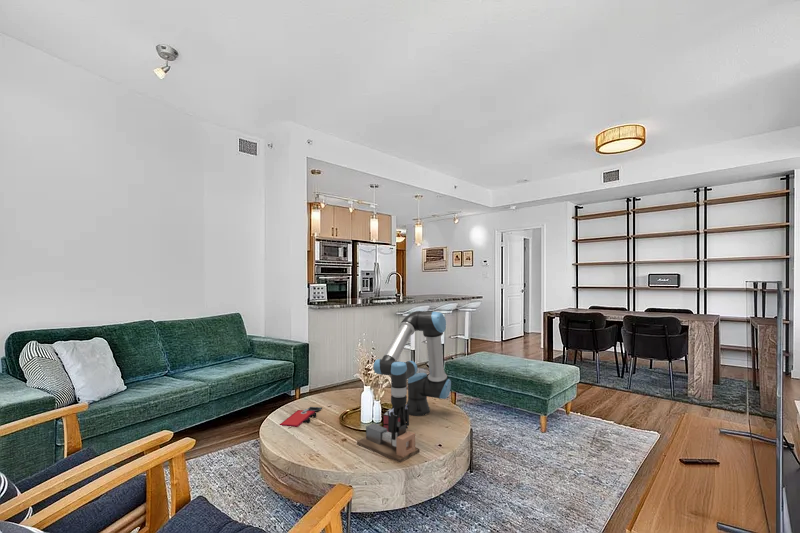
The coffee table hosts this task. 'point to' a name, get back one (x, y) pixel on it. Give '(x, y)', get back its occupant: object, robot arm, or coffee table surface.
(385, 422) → the puzzle cube
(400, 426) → the slip bar
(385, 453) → the walnut base board
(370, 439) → the grey stepped block
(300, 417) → the red board with handle
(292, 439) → the coffee table surface
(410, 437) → the terracotta socket
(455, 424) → the coffee table surface
